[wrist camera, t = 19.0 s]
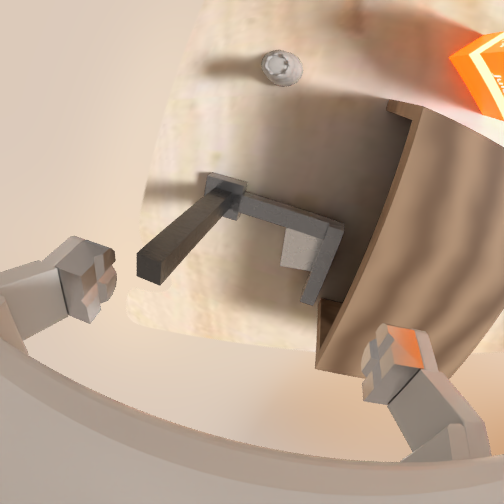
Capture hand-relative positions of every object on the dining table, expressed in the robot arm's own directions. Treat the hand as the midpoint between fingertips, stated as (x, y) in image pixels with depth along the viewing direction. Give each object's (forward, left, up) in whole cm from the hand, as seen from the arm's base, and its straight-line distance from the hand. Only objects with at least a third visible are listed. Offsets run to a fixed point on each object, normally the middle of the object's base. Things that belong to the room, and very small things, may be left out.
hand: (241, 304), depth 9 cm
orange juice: (+22, +16, -33) cm, 42 cm away
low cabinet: (+20, -9, -32) cm, 39 cm away
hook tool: (-1, -15, -31) cm, 35 cm away
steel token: (+5, -15, -33) cm, 37 cm away
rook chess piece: (-3, +7, -33) cm, 33 cm away
